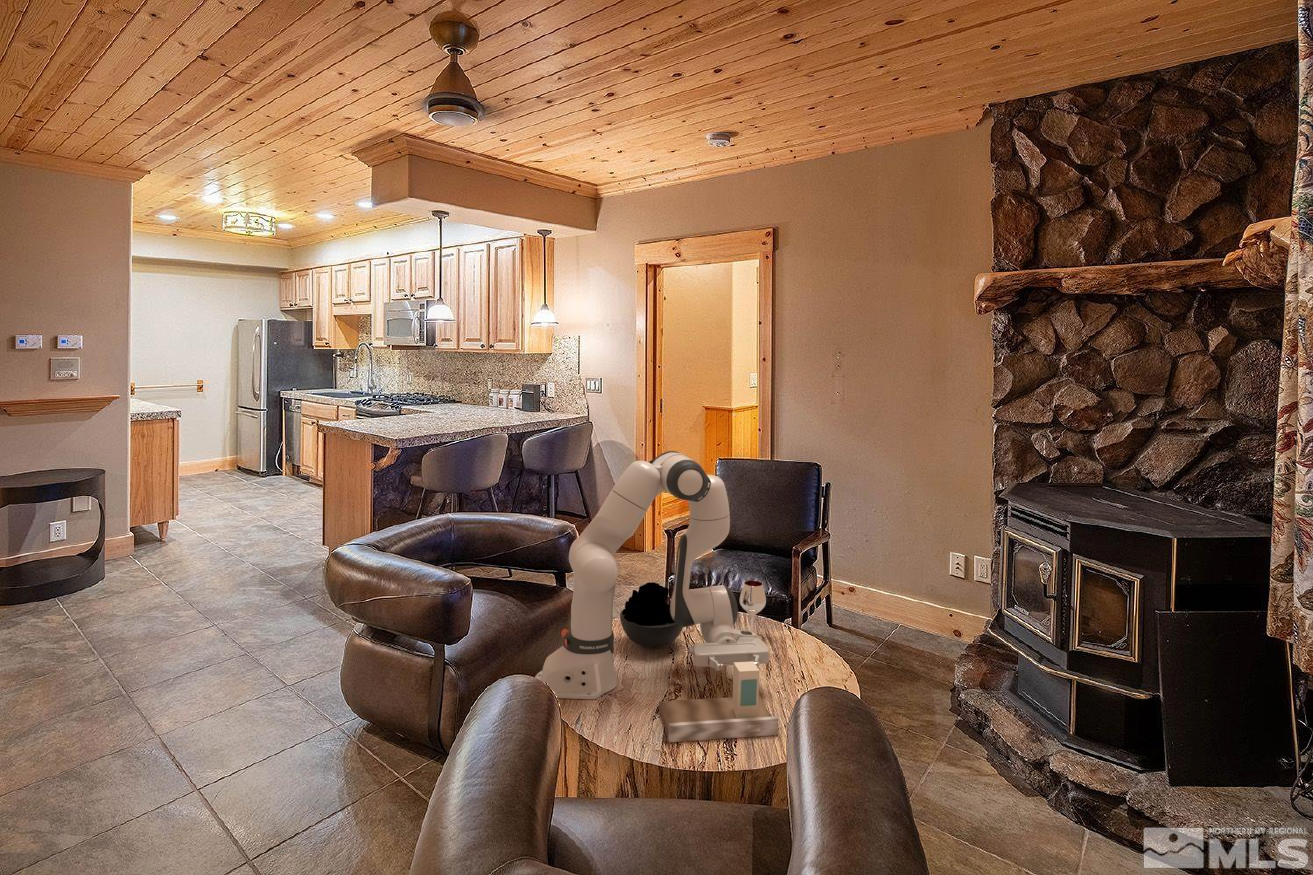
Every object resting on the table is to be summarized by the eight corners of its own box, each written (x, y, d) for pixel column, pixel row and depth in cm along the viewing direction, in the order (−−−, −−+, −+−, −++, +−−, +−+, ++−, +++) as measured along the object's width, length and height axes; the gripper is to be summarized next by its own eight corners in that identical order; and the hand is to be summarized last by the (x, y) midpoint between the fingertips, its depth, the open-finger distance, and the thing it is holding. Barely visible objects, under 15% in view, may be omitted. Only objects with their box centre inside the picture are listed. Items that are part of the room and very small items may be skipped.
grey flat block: (669, 742, 160) (669, 726, 160) (658, 708, 176) (659, 693, 175) (778, 735, 164) (778, 719, 164) (758, 702, 180) (759, 688, 179)
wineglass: (733, 637, 220) (734, 582, 218) (749, 631, 226) (751, 577, 224) (753, 646, 215) (755, 589, 212) (769, 638, 220) (771, 583, 218)
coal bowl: (678, 631, 225) (680, 575, 222) (690, 658, 205) (692, 596, 203) (616, 633, 222) (617, 576, 220) (622, 661, 202) (623, 598, 200)
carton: (732, 708, 172) (733, 662, 171) (751, 707, 173) (753, 661, 172) (737, 719, 167) (739, 671, 166) (757, 718, 168) (759, 670, 167)
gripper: (687, 635, 188) (698, 657, 174) (760, 631, 191) (776, 653, 178) (687, 657, 189) (697, 681, 175) (759, 653, 192) (775, 677, 178)
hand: (738, 667), depth 176 cm, fingers open, 8 cm apart
